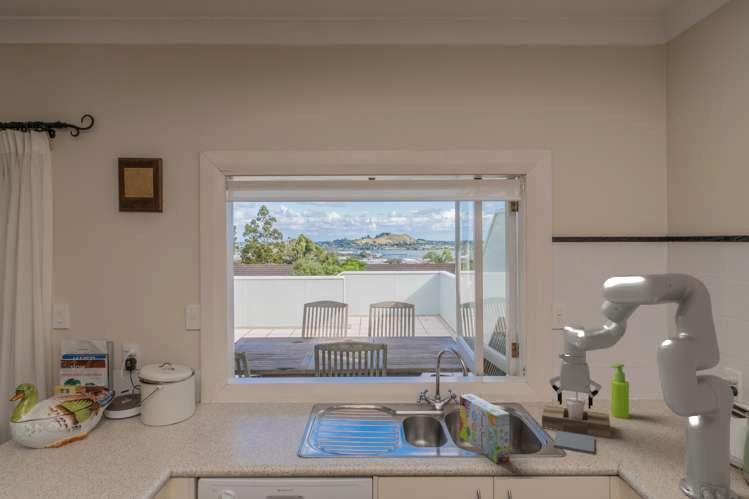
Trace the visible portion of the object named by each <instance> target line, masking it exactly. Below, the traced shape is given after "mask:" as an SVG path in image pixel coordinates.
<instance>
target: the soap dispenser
mask: <svg viewBox="0 0 749 499" xmlns="http://www.w3.org/2000/svg"><path fill="white" fill-rule="evenodd" d="M610 367H611V368H614V369H617V370H616V371H615V372H614V379H613V380H611V383H610V384H611V386H610V387H611V388H610V389H611V415H612V417H614V418H617V419H629V418H630V383H629V382H628V381H626V373H625V372H623V368H624V367H625V364H622V363H615V364H612V365H611V366H610Z"/></svg>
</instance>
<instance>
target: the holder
mask: <svg viewBox="0 0 749 499" xmlns="http://www.w3.org/2000/svg"><path fill="white" fill-rule="evenodd" d="M542 427H547V428H552V429H551V430H553V429H557V430H556V431H559V430H563V431H562V432H566V431H568V433H572V432H573V433H575V434H581V435H587V436H594V437H598V438H599V437H600V438H604V439H605V438H606V439H611V422H610V414H609V413H605V412H604V413H603V412H598V411H597V412H596V411H590V410H589V411H588V410H583V417H582V420H580V419H573V418H569V415H568V408H567V407H560V406H552V405H547V404H546V405H544V406H543V410H542V415H541V428H542ZM547 428H546V429H547Z"/></svg>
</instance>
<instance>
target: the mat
mask: <svg viewBox="0 0 749 499" xmlns="http://www.w3.org/2000/svg"><path fill="white" fill-rule="evenodd" d="M553 448H558V449H561V450H562V449H563V450H569V451H575V452H580V453H586V454H592V455H595V436H591V435H585V434H578V433H572V432H566V431H559V430H555V437H554V442H553Z"/></svg>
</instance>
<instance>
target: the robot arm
mask: <svg viewBox="0 0 749 499" xmlns="http://www.w3.org/2000/svg"><path fill="white" fill-rule="evenodd" d="M601 292H602V296H603V298H604V299H605V300H604V301H603V303H602V304H601V306H600V310H601V313H602V314H603V316H604V317H605V318H606V319H607V321H606V322H605V323H604V324H603V325H602V326H600V327H599V326H598V327H590V328H585V326H583V325H581V324H572V323H571V324H566V325H564V326H563V330H562V334H563V335H562V337H563V340H562V342H563V344H562V345H563V346H562V347H563V349H562V350H563V351H562V352H563V353H562V354H558V359H562V360H561V362H560V367H559V375H558V376H556V377H553V378H550V379H549V384H550V386H551V387H552V389H553V390H554V391H555V392H556V395H557V396H556V397H557V402H559V404H558V405H560V406H561V405H562V404H563V391H567V392H568V391H569V392H575V393H576V392H578V393H583V394H585V393H586V394H587V395H588V398H587V399H588V404H587V406H588V408H587V409H589V410H591V407H594V406H593V405H594V404H593V403H594V402H593V401H594V397H596V396H597V395H598V394H599V392H600V390H601V389H602V385H601V384H599V383H598V382H596V381H594V380H593V379H591V375H590V374H591V373H590V368H589V367H590V365H589V364H588V362H587V352H589V351H590V352H592V351H597V350H606V349H610V348H612V347H614V346H615V345H616V344H617V343H618V342H619V341H620V340H621V339H622V337H624V335H625V334H626V332H627V327H628V319H629V318H630V317H631V316H632V314H634V313H635V312H636V310H637V309H638V308H640V306H653V305H654V306H655V305H663V304H664V305H665V304H673V303H674V304H677V305H678V306H677V308H676V312H675V318H674V320H675V321H674V322H675V326H676V336H675V335H674V336H669V337H668V338H665V339H664V340H662V341H661V342H660V344H659V345H658V348H657V352H656V361H657V366H658V369H657V370H658V374H659V381H660V387H661V392H662V397H663V400H664V402H665V404H666V406H667V407H668V408H669V410H670V411H671V412H672V413H674V414H675V415H677V416H680V417H683V418H685V421H684V422H685V424H684V426H685V428H684V430H685V431H684V438H685V440H684V442H685V443H684V444H685V445H684V446H685V448H684V449H685V450H684V451H685V453H684V454H685V476H684V477H681V478H680V479H679V481H678V488H679V489H680V491H681V492H682V493H684V494H685V495H686V496H688V497H689V498H692V499H739V496H738V494H737V493H736V492H735V490H733V489H732V488H731V422H732V421H731V419H732V414H733V408H734V403H735V396H734V392H733V389H732V388H731V386H730V384H729V383H728V382H727V381H726V380H725V379H723V378H722V377H720V376H718V375H714V374H705V373H704V374H697V372H700V371H706V370H710V369H714V368H715V367H717V366H718V365H719V363H720V361H721V360H720V359H721V358H720V357H721V353H720V348H719V342H718V336H717V332H716V327H715V326H716V325H715V323H714V318H713V317H714V316H713V309H712V307H713V306H712V298H711V294H710V292H709V289H708V287H707V286H706V285H705V283H703V282H702V281H701V280H700V279H699V278H698V277H695V276H694V275H691V274H687V273H681V272H680V273H679V272H668V273H666V272H665V273H655V274H640V275H637V274H627V275H626V274H623V275H620V274H619V275H613V276H610V277H608V278H607V279H606V280H605V281H604V282H603V285H602V288H601ZM556 382H559V387H558V386H557V385H556V384H555V383H556ZM591 386H593V387H595V389H594V390H593V391H592V390H591Z"/></svg>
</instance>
